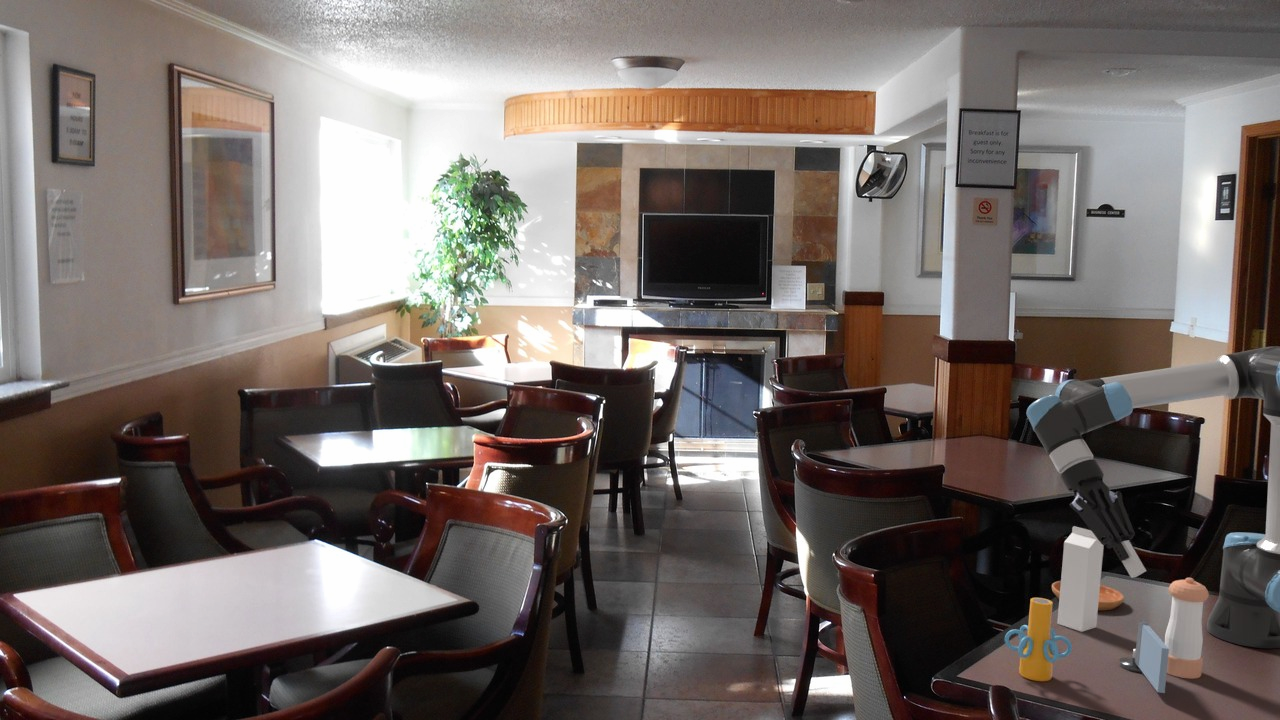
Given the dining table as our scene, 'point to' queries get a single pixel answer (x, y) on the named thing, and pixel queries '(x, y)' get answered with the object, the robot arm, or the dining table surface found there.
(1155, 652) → the light blue rectangular panel
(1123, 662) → the shiny grey rounded piece
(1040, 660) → the tube with blue loops
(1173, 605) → the pepper shaker
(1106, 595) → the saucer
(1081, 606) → the milk
